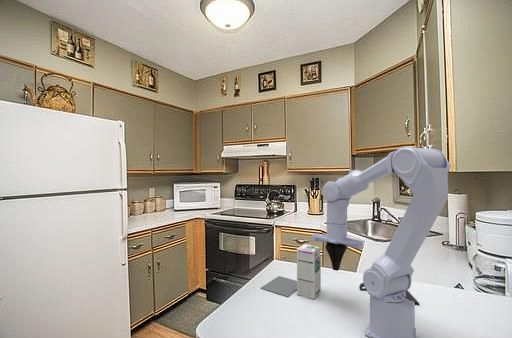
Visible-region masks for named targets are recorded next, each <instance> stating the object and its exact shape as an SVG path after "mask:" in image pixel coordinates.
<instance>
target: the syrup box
mask: <svg viewBox="0 0 512 338" xmlns="http://www.w3.org/2000/svg"><path fill="white" fill-rule="evenodd" d="M296 281H297V291H296V295H297V296H301V297H303V298H306V299H311V300H315V299H317V297H319V294H320V293H321V292H322V291H321V287H322V286H321V246H320V245H319V246H317V245H314V244H303V245H301V246H299V247H297V249H296Z"/></svg>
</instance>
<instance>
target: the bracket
mask: <svg viewBox="0 0 512 338" xmlns="http://www.w3.org/2000/svg"><path fill="white" fill-rule="evenodd" d="M358 288H359V290H360V291H362V292H368V291H367V290H366V288H365V286H364V283H363V282H362V283H360V284H359V286H358ZM404 298H406V299H408V300H410V301H413V302H415V305H417V306H419V307H420V305H421V304H420V303H419V301H418V300H417V299H416V298H415V297H414V296H413V295H412V293H411V292H410V291H409V289H408V290H407V291H406V296H404Z"/></svg>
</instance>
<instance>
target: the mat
mask: <svg viewBox="0 0 512 338" xmlns="http://www.w3.org/2000/svg"><path fill="white" fill-rule="evenodd" d="M260 289H261V290H263V291H267V292H270V293H272V294H276V295H279V296H282V297H286V298H289V297H291V296H292V295H293V294H294V293H296V292H297V279H296V280H295V279H291V278H288V277H284V276H281V275H278V276H276V277H274V278H273V279H272V280H270V281H269V282H267V283H266V284H264V285H262V286H261V287H260Z"/></svg>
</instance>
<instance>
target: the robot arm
mask: <svg viewBox="0 0 512 338" xmlns="http://www.w3.org/2000/svg"><path fill="white" fill-rule="evenodd" d="M450 169H451V164H450V162H449V160H448V159H447V157H446V155H445V154H444V153H443V152H442V151H441V150H439V149H437V148H423V147H414V146H410V145H409V146H405V145H404V146H401V147H400V148H398V149H397V150H394V151H391V152H389V153H388V154H387V156H385V157H384V158H383V159H381V160H379V161H377V162H376V163H374V164H372V165H371V166H370V167H368V168H366V169H364V170H363V171H361V170H359V169H358V170H355V169H353V170H352V169H351V170H350V171H349V170H348V174H346V175H345V176H343V177H339V178H337V180H336V181H327V182H326V183H324V185H323V187H322V195H323V198H324V199H325V201H326V234H323V233H321V234H319V233H312V234H311V242H319V243H325V246H324V247H325V250H326V252H327V254H328V256H329V259H330V262H331V266H332V270H334V271H336V272H337V271H339V270H340V269H341V268H340V267H341V263H342V260H343V257H344V254H345V253H346V251H347V249H348V247H349V248H354V249H358V250H361V251H362V250H363V249H364V241H363V240H359V239H355V238H350V237H348V208H349V203H350V200H351V198H352V197H354V196H356V195H357V194H359V193H362V192H365V191H366V190H368V189H369V187H370V186H369V185H370V183H373V182H376V181H379V180H380V179H383V178H385V177H388V176H391V175H393V174H396V175H397V176H398V177H399V178H400V180H401V181H402V182H403V184H405V185H406V186H407V188H409V190H410V192H411V194H412V198H411V200H410V202H409V204H408V206H407V208H406V210H405V212H404V214H403V215H402V218H401V220H400V222H399V224H398V226H397V228H396V230H395V232H394V234H393V236H392V238H391V240H390V242H389V244H388V246H387V248H386V250H385V251H384V254H383V255H381V256H380V257H379V258H377V259H376V260H375V261H374V262H373V263H372V265H371V266H370V267H369V268H367V269H366V270H364V272H363V274H362V283H364V286H365V287H364V288H366V290H367V291H366V292H367V294H368V295H369V323H368V325H367V327H366V330H365V333H364V336H367V337H368V338H369V337H370V338H416V337H417V328H416V327H415V326H416V303H415V302H413V301H410V300H408V299H406V298H404V296H406V291H407V290H408V291H409V290H410V288H411V287H412V277H413V276H412V275H413V274H414V272H415V270H414V268H413V266H412V263H413V261H414V259H415V257H416V256H417V254H418V252H419V251H420V249H421V247H422V245H423V243H424V241H425V240H426V238H427V236H428V234H429V233H430V232H431V229H432V227H433V225H434V224H435V222H436V220H437V218H438V216H439V215H440V213H441V212H442V209H443V208H444V206H445V204H446V202H447V200H448V198H449V185H448V184H449V182H448V181H449V180H448V178H449V176H448V173H449V171H450Z"/></svg>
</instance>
